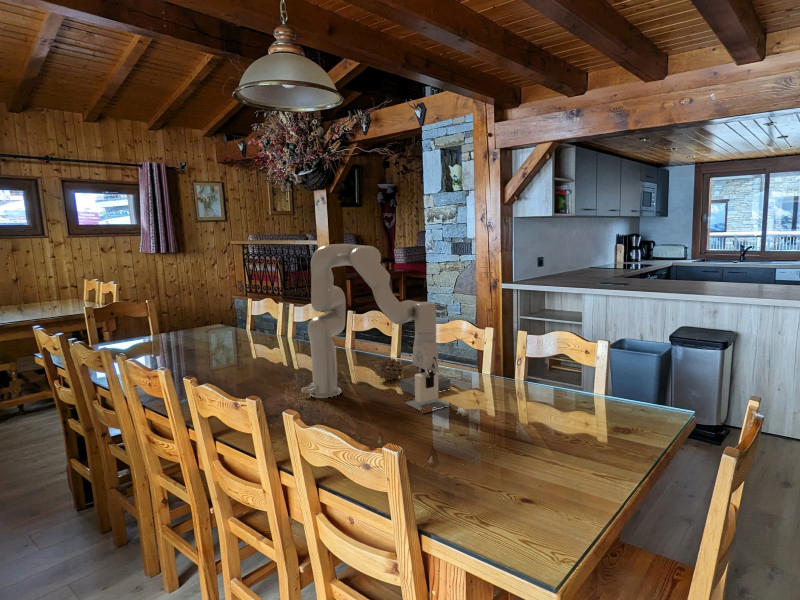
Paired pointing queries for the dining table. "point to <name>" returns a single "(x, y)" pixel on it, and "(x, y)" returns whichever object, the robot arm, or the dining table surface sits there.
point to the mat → (432, 403)
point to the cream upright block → (421, 390)
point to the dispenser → (409, 384)
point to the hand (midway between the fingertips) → (426, 385)
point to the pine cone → (390, 369)
